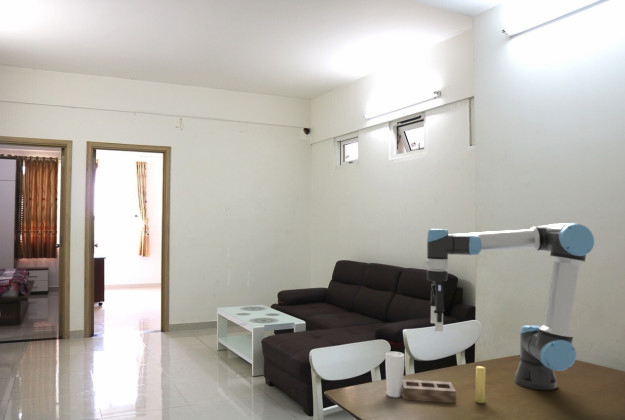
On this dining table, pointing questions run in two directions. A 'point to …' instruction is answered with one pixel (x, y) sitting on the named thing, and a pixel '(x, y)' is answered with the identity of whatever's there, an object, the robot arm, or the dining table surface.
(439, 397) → the hole block
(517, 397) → the dining table surface
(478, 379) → the peg
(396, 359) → the drinking glass
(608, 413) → the dining table surface
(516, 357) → the dining table surface
